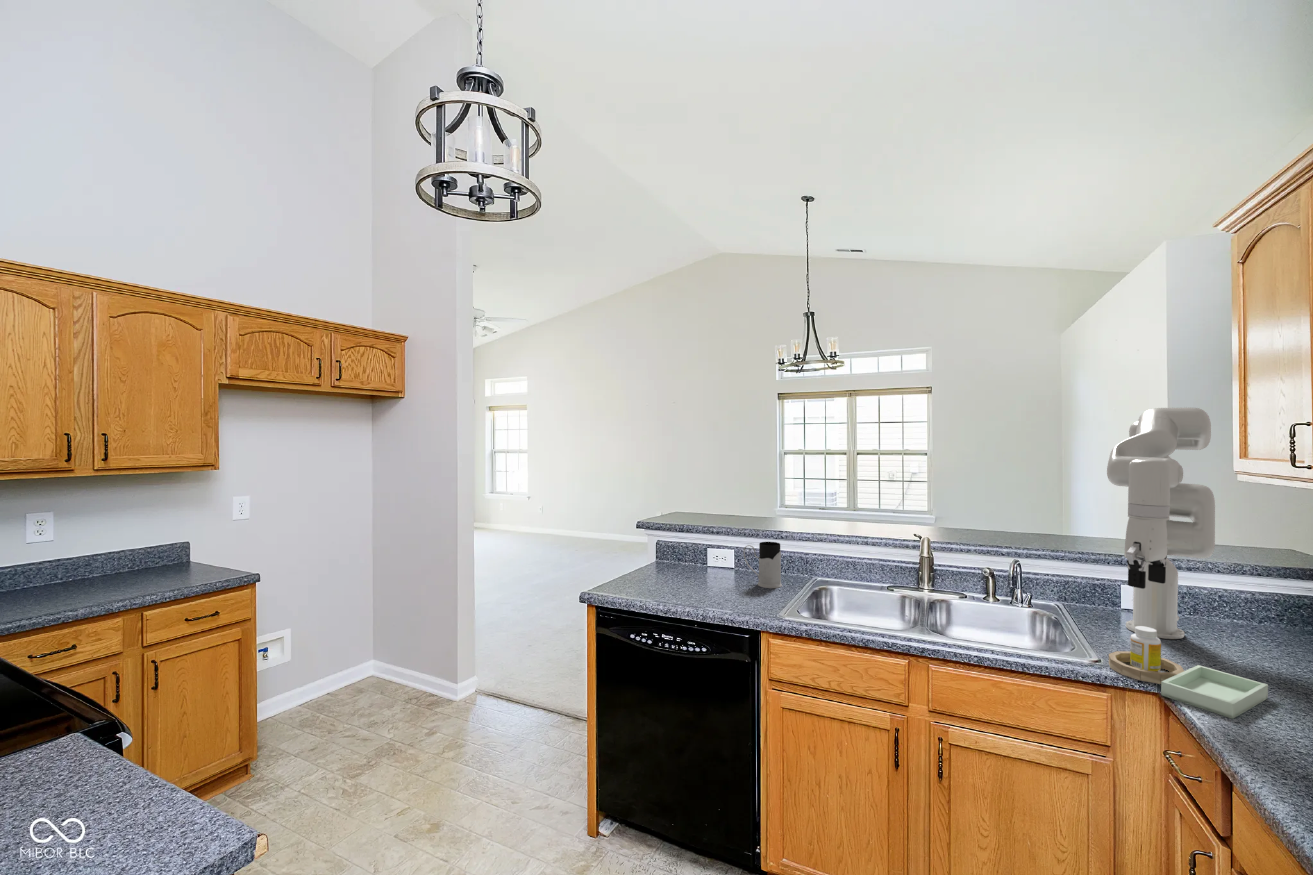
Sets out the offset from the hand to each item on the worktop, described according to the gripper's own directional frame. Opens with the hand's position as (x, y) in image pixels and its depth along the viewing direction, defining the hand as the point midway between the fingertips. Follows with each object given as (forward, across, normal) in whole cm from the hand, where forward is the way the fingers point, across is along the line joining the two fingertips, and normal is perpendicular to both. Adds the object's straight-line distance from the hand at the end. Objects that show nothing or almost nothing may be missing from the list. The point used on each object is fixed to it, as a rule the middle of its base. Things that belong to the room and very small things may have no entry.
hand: (1146, 584), depth 139 cm
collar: (+21, 0, 0) cm, 21 cm away
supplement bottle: (+21, 0, 0) cm, 21 cm away
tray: (+21, +2, +13) cm, 25 cm away
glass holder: (+21, +30, -104) cm, 110 cm away
